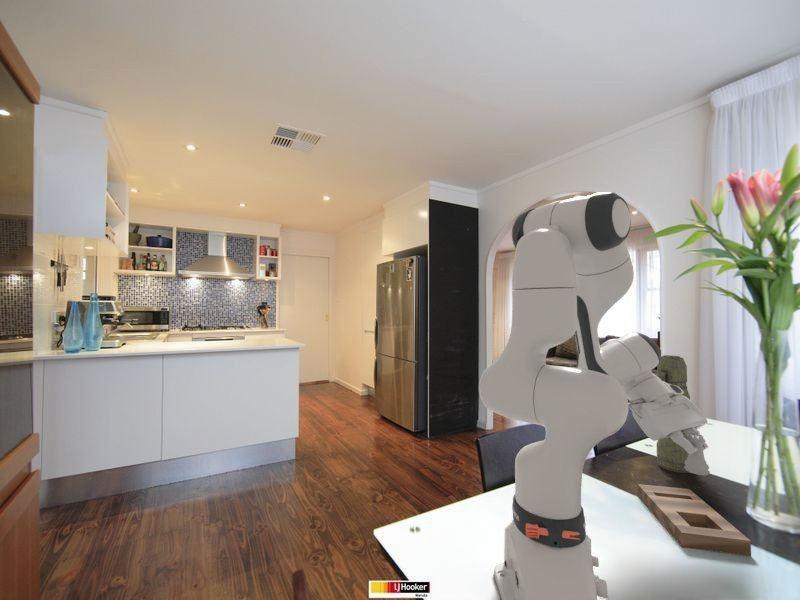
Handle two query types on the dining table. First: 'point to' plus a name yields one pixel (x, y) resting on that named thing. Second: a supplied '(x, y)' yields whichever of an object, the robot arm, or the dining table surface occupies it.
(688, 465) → the rook chess piece
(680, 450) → the thermos
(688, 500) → the block
